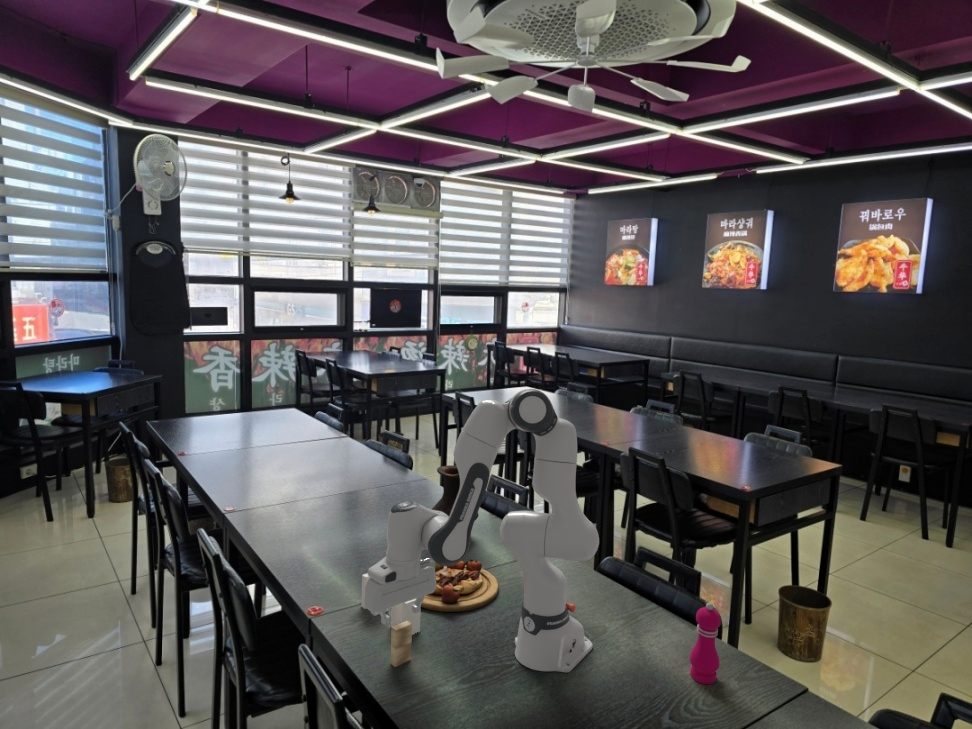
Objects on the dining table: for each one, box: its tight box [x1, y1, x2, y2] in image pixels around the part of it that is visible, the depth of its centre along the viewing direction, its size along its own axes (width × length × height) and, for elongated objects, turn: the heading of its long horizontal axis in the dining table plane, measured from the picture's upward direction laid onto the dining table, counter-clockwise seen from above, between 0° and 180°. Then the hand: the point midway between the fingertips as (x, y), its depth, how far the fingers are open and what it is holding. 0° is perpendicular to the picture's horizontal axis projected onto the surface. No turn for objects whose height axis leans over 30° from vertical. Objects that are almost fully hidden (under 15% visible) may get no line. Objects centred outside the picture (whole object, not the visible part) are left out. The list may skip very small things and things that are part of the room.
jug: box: [431, 464, 479, 521], centre depth 240 cm, size 21×18×30 cm
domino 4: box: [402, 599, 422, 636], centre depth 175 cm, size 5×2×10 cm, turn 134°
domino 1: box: [360, 572, 370, 610], centre depth 189 cm, size 5×2×10 cm, turn 134°
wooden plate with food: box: [421, 557, 500, 613], centre depth 203 cm, size 32×32×8 cm
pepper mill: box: [689, 602, 722, 685], centre depth 160 cm, size 7×7×20 cm
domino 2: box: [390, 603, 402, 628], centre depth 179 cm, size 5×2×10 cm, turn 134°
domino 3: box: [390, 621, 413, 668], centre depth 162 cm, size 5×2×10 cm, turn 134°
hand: (400, 617), depth 161 cm, fingers open, 8 cm apart
